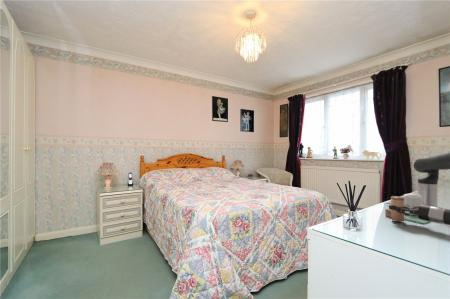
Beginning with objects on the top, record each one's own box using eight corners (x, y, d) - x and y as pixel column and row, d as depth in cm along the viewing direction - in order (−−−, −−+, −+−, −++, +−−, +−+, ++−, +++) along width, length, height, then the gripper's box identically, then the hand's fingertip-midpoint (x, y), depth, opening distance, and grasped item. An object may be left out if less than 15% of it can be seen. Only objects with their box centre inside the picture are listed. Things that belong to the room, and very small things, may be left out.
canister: (394, 217, 121) (393, 195, 121) (406, 220, 116) (406, 197, 116) (388, 219, 118) (388, 196, 118) (401, 222, 113) (401, 198, 113)
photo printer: (418, 213, 132) (418, 193, 132) (424, 215, 128) (424, 194, 128) (400, 213, 133) (400, 192, 133) (405, 215, 129) (405, 194, 129)
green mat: (408, 216, 126) (408, 215, 126) (431, 221, 118) (431, 220, 118) (400, 219, 121) (400, 218, 121) (423, 224, 113) (423, 223, 113)
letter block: (388, 215, 129) (388, 208, 129) (396, 217, 125) (396, 209, 125) (385, 216, 127) (385, 209, 127) (393, 218, 123) (393, 210, 124)
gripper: (438, 204, 108) (398, 197, 123) (426, 208, 101) (385, 200, 116) (438, 219, 108) (398, 211, 123) (426, 224, 101) (385, 215, 116)
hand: (392, 206), depth 119 cm, fingers closed on canister, 5 cm apart
